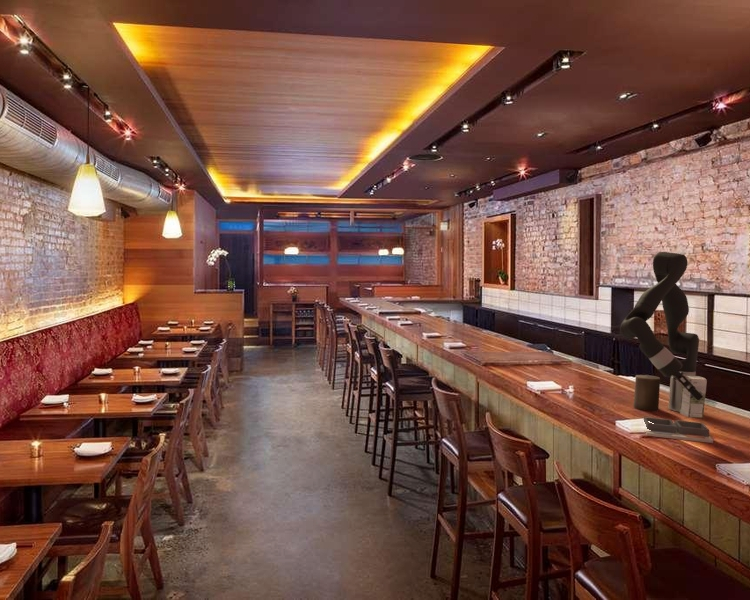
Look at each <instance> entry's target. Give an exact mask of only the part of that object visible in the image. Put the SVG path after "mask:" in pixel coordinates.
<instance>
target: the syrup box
mask: <svg viewBox="0 0 750 600" xmlns="http://www.w3.org/2000/svg"><path fill="white" fill-rule="evenodd" d="M687 378H688V379H689V380H690V381H691V384H692V385H693V386H695V388H696V390H697V391H698V392H699V393H700V394H701V395H702V396H703V397H702V398H701V399H700V400H697V399H696V398H695V397H694V396H693V395H692V394H691V393H690V392H688V390H687V389H686V388H685V389H684V388H683V387H682V393H681V404H680V412H679V414H680V415H682V416H684V417H686V418H692V419H703V418H704V412H705V411H704V410H705V403H706V394H707V393H706V392H707V382H708V381H707V380H708V379H706V378H705V377H702V376H699V375H695V376H687ZM691 387H692V386H691V385H689V386H688V387H687V388H688V389H689V388H691Z"/></svg>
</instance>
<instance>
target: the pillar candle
mask: <svg viewBox="0 0 750 600" xmlns="http://www.w3.org/2000/svg"><path fill="white" fill-rule="evenodd" d="M660 386H661V378H660V377H659V376H656V375H649V373H647V374H637V375H635V383H634V395H633V396H634V399H633V407H635V409H637V410H641V411H646V412H647V411H648V412H657V410H658V411H659V403H660V390H661V389H660V388H661V387H660Z"/></svg>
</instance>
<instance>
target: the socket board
mask: <svg viewBox="0 0 750 600" xmlns="http://www.w3.org/2000/svg"><path fill="white" fill-rule="evenodd" d="M643 420H644V422H645V424H646V427H647V429H649V430H651V431H646V433H645V435H646V436H648V437H657V438H666V439H675V440H681V441H682V440H683V441H684V440H685V441H691V442H701V443H709V444H710V443H711V444H714V439H713V438H712V437H711V436H710V429H709V427H707V426H706V424H705V423H703V422H697V421H696V422H695V421H689V420H688V421H687V420H675V419H674V420H672V419H667V418H658V417H649V416H648V417H646V416H644V417H643V419H642V421H643ZM648 421H650V422H652V423H654V424H652V423H649V422H648Z"/></svg>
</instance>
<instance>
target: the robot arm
mask: <svg viewBox="0 0 750 600" xmlns="http://www.w3.org/2000/svg"><path fill="white" fill-rule="evenodd" d="M687 268H688V257H687V256H686V255H684V254H681V253H676V252H668V251H659V252H656V253H655V255H654V256H653V260H652V269H653V273H654V276H655V279H656V282H657V283H655V284H654V285H652V286H651V287H649V288H648V289H646V290H645V291H644V292H643V293H642V294H641V295H640V297H639V299H638V300H637V302H636V304H635V305H634V307H633V309H632V310H631V311H630V312H629V313H628V314H627V315H626V317H625V318H624V319H623V320H622V322H621V324H620V327H619V333H620V335H621V336H622V337H623V338H625V339H627V340H632V339H636V338H637V341H639V345H638V348H639V350H640V351H641V352H642V353H643V354H644V356H646V357H647V358H648V360H649V361H650V362H651V364H652V365H653V366H654V367H655V368H656V370H658V372H660V373H661V375H662V376H663V377H664V378H666V379H667V378H670V379H669V380H670V381H669V382H670V383H669V395H668V397H669V398H668V409H669V410H670V411H674V412H678V413H680V404H681V393H682V387H683V388H684V389H685V388H686V389H687V390H688V392H690V393H691V394H692V395H693V396H694V397H695V398H696V399H697V400H700V399H701V398H702V397H703V396H702V395H701V394H700V393H699V392H698V391H697V390H696V388H695V386H693V385H692V384H691V381H690V380H689V379H688V378H687V376H696V375H697V373H696V371H697V361H698V354H699V345H700V338H699V335H698V334H696V333H693V332H692V333H691V332H681V331H680V330H679V327H680V326H681V324H682V323H683V322H684V320H686V318H687V316H688V315H689V312H690V307H689V302H688V297H687V295H686V293H684V291H683V290H682V289H681V287H679V286H678V284H677V283H678V282H679V281H680V279H682V277H683V276H684V274H685V273H686V272H687V271H686V270H687ZM660 304H662V309H663V310H662V311H663V313H664V317H665V324H666V330H667V338H668V347H669V349H668V348H667V347H665V346H664V345H663V343H662V342H661V341H659V339H658V338H657V337H656V335H655V333H654V331H653V330H652V328H651V327H650V325H649V323H648V322H647V321H648V320H650V319H651V318H652V317H653V315H654V313H655V312H656V310H657V308H658V307H659V305H660ZM673 353H674V354H681V355H686V358H685V359H682V360H679V359H678V358H677V357H676V356H675V355H674V354H673ZM689 385H691V386H692V387H691V388H689V389H688V388H687V387H688V386H689Z"/></svg>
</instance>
